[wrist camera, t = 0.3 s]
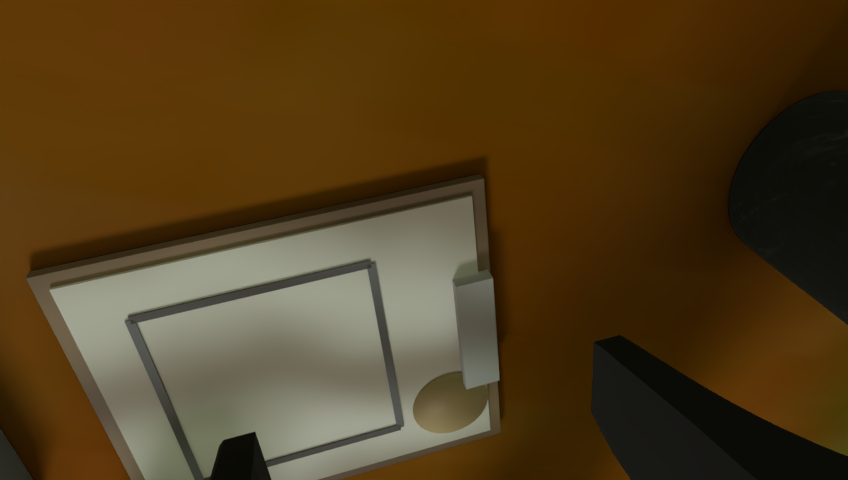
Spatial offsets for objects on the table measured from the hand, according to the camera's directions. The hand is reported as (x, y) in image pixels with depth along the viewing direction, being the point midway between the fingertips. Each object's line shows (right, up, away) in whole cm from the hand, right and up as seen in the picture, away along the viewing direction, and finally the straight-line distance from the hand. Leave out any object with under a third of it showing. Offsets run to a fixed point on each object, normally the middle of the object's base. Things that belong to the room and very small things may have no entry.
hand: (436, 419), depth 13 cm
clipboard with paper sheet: (-5, -1, +11) cm, 12 cm away
